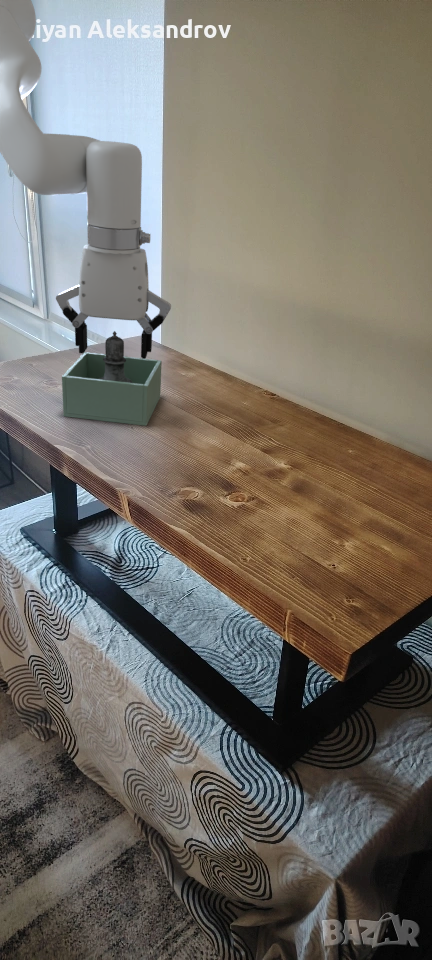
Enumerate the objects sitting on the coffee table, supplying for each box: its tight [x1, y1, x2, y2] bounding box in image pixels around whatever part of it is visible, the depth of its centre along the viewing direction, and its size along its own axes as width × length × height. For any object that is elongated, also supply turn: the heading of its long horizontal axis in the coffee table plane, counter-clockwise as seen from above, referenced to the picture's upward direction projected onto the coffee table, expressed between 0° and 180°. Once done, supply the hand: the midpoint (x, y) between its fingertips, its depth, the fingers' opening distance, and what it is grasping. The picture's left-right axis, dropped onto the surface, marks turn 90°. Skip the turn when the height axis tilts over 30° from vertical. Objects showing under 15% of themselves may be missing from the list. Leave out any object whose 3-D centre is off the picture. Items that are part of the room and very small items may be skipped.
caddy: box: [61, 351, 163, 427], centre depth 101 cm, size 13×12×7 cm
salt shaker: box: [99, 330, 133, 383], centre depth 100 cm, size 6×6×12 cm
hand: (113, 353), depth 99 cm, fingers open, 9 cm apart
